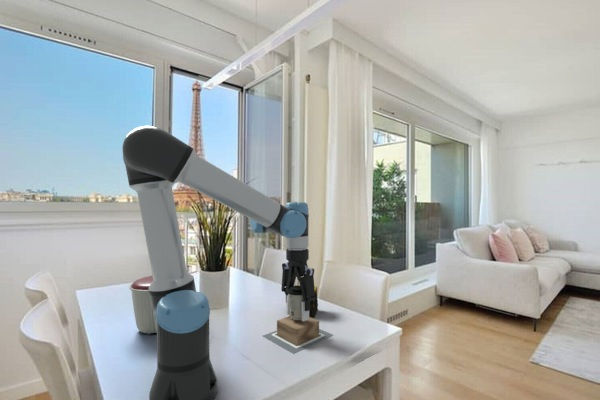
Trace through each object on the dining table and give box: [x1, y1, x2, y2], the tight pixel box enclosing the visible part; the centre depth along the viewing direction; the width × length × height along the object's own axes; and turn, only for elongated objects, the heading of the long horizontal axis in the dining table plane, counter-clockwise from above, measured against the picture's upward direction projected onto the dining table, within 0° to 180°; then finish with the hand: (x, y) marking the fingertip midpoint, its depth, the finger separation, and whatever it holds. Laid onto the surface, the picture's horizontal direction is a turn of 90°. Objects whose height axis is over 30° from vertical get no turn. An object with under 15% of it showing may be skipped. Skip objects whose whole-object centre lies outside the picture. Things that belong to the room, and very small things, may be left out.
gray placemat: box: [262, 328, 334, 355], centre depth 103 cm, size 18×16×1 cm
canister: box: [128, 274, 157, 334], centre depth 111 cm, size 18×18×21 cm
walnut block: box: [276, 315, 320, 346], centre depth 103 cm, size 10×10×5 cm
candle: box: [294, 284, 319, 319], centre depth 124 cm, size 10×10×10 cm
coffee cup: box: [287, 285, 307, 320], centre depth 103 cm, size 7×7×10 cm
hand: (297, 316), depth 103 cm, fingers closed on coffee cup, 7 cm apart
